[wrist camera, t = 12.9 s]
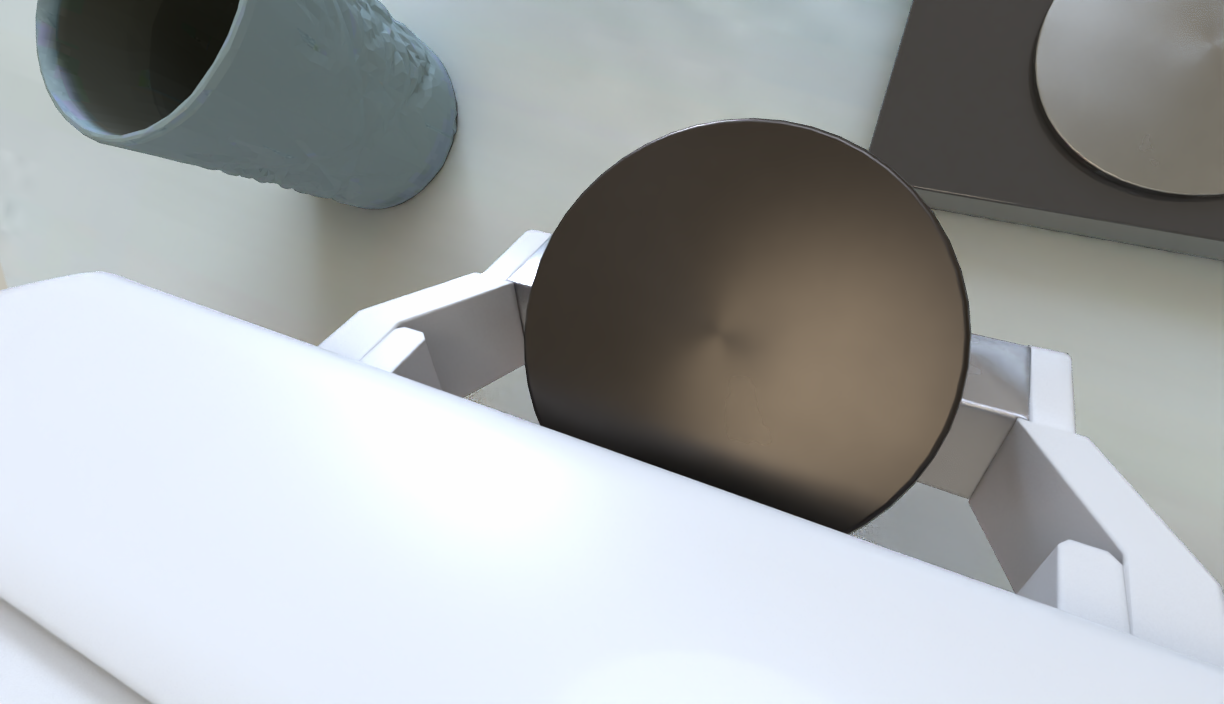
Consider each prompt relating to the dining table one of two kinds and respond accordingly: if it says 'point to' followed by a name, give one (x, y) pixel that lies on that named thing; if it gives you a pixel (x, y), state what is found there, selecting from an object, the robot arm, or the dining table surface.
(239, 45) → the blue-grey embossed cup
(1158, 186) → the burner
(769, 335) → the red tin
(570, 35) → the dining table surface
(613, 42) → the dining table surface
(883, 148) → the hob
